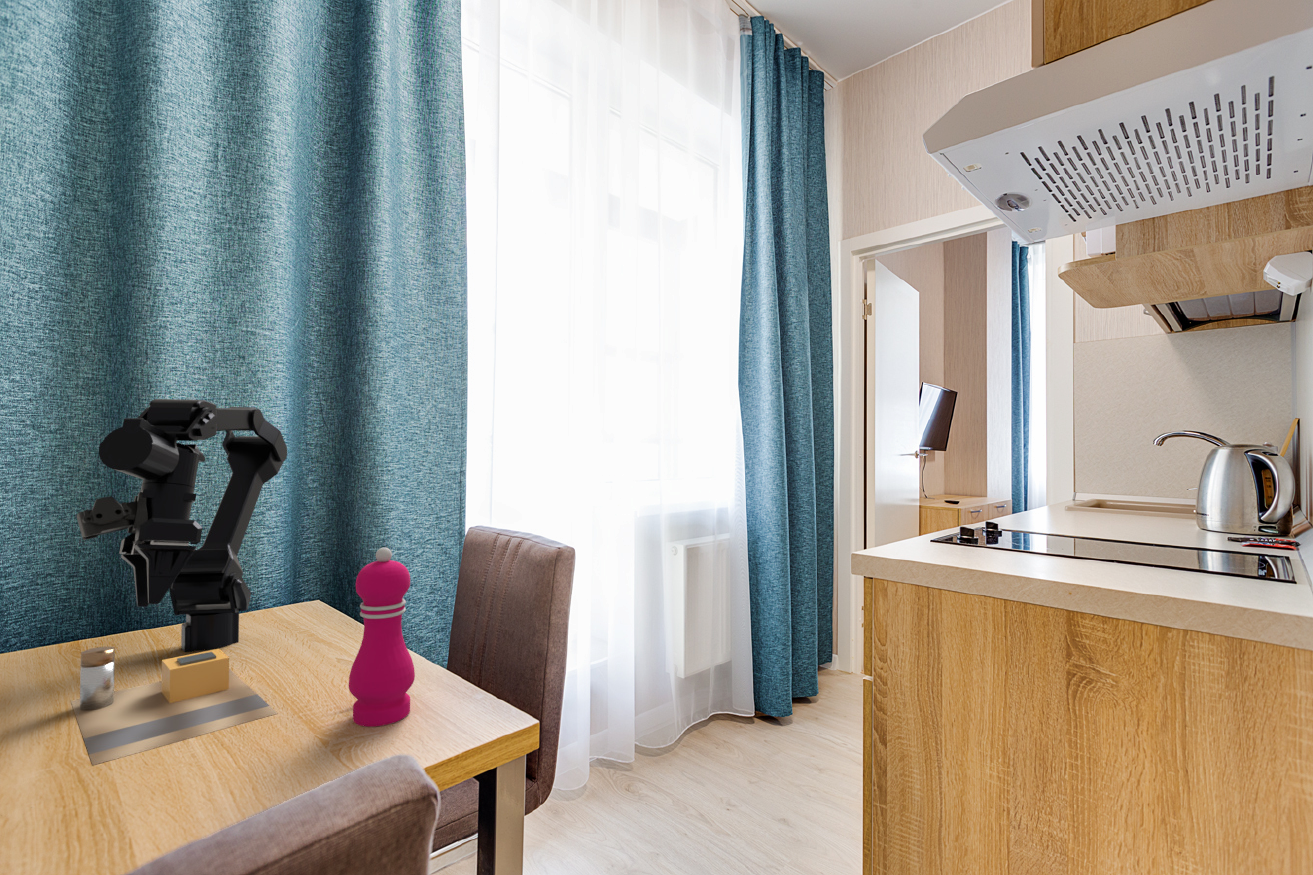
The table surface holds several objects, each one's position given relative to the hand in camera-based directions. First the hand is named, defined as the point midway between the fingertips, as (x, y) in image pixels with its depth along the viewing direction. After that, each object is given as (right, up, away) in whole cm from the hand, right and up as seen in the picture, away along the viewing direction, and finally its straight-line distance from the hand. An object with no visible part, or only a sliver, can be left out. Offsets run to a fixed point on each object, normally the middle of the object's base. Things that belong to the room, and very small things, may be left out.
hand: (147, 605), depth 80 cm
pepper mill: (+33, -12, -6) cm, 36 cm away
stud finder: (+8, -10, -2) cm, 13 cm away
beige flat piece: (+9, -11, -7) cm, 16 cm away
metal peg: (-1, -10, -7) cm, 12 cm away
